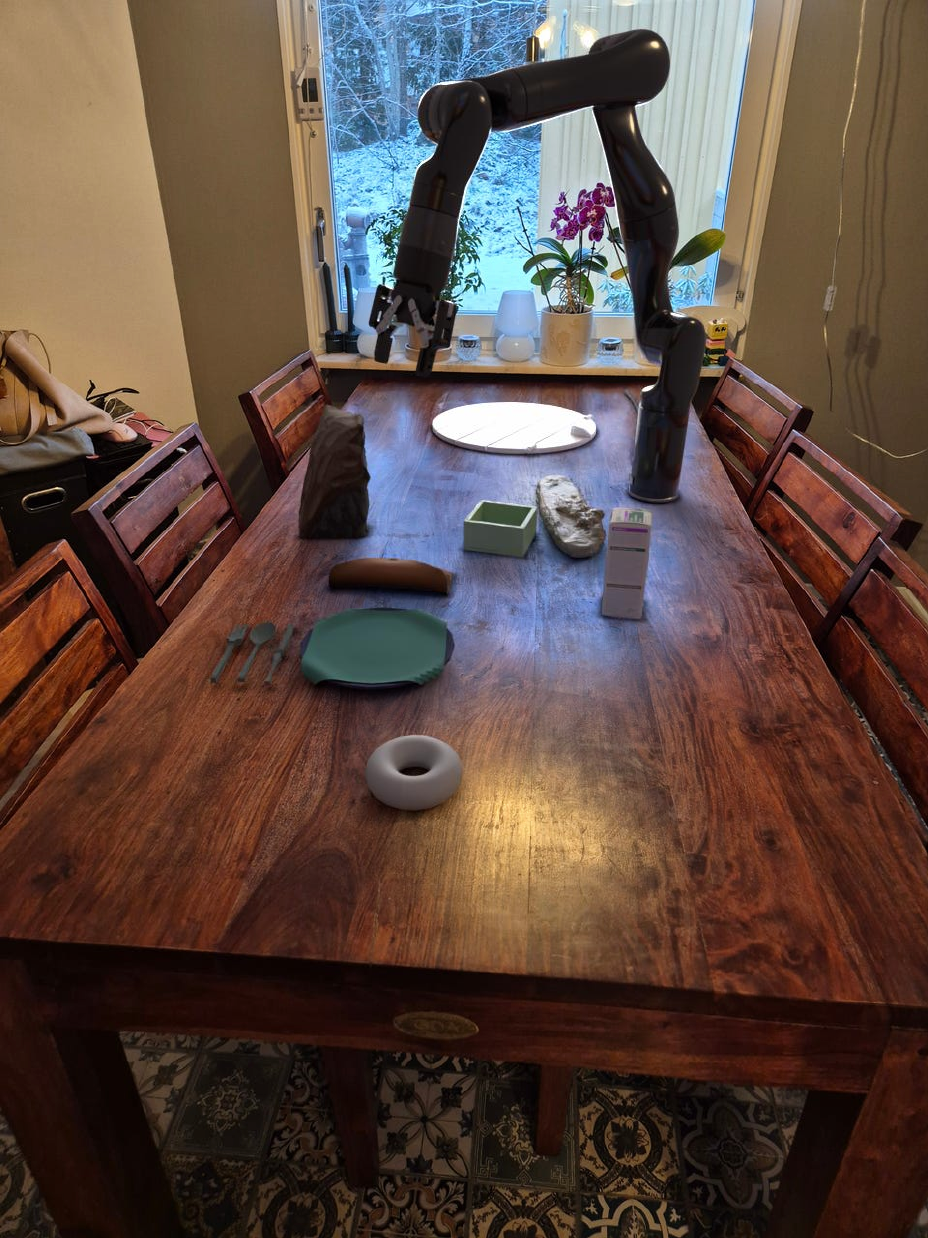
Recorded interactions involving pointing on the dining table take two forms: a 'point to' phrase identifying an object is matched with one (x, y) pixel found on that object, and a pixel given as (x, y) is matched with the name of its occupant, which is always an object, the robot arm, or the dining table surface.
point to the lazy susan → (514, 428)
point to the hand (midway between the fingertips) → (400, 369)
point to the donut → (413, 788)
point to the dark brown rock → (336, 479)
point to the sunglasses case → (390, 574)
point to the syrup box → (626, 562)
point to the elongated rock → (570, 517)
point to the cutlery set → (359, 648)
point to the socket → (500, 528)
